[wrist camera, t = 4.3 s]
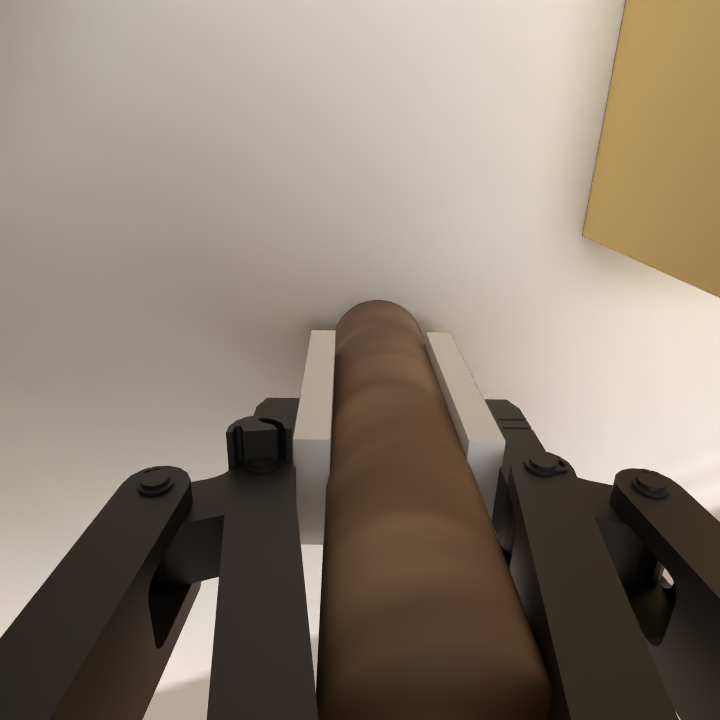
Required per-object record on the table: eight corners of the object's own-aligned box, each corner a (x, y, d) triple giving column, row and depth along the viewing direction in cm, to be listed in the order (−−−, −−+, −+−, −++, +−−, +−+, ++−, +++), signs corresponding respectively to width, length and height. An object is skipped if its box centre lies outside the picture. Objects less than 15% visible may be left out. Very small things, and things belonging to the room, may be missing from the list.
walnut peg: (333, 381, 20) (314, 809, 8) (333, 299, 19) (313, 645, 6) (417, 382, 21) (540, 806, 8) (424, 301, 19) (583, 645, 6)
